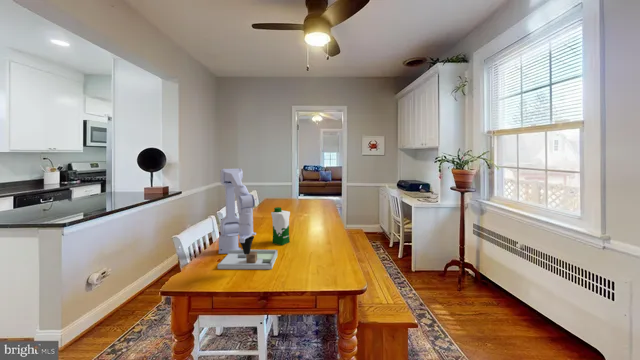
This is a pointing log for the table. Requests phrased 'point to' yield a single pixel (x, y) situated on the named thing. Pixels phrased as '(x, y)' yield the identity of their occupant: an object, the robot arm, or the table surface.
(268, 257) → the tray
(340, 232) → the table surface
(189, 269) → the table surface
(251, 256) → the walnut block
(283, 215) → the milk carton
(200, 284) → the table surface
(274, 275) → the table surface
